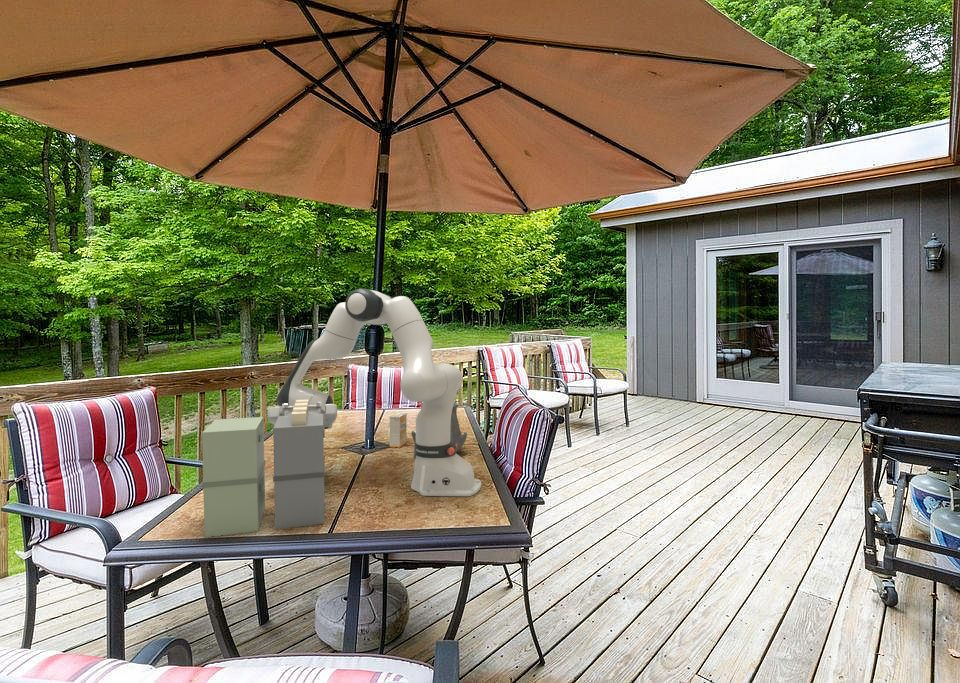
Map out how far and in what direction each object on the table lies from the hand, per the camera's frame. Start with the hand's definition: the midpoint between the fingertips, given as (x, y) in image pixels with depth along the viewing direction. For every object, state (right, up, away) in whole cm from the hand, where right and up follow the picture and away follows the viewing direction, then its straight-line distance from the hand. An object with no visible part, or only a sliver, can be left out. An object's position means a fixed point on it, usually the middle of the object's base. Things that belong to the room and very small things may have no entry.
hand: (302, 405), depth 146 cm
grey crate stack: (+4, -29, -11) cm, 31 cm away
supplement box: (+18, -25, +62) cm, 70 cm away
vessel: (+36, -26, +51) cm, 68 cm away
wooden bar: (+2, -2, -7) cm, 8 cm away
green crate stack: (-11, -29, -16) cm, 35 cm away
